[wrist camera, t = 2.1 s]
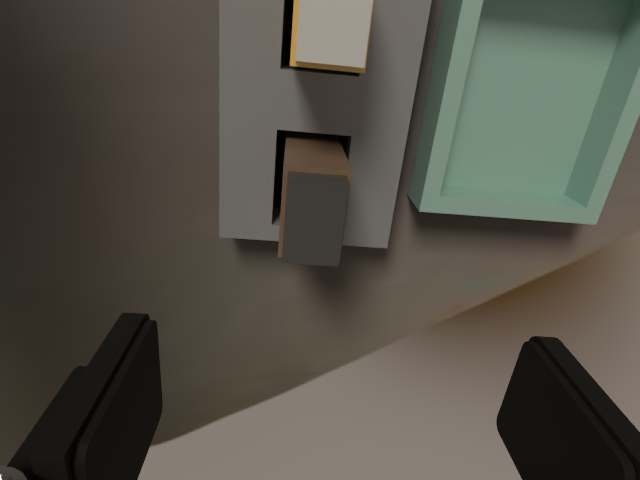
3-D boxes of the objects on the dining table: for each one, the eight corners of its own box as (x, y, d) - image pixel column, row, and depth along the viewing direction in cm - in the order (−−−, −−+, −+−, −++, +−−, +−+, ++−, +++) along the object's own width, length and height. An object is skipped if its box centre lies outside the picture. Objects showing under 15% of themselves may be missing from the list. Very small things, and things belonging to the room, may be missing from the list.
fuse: (297, -38, 22) (298, -79, 14) (354, -31, 23) (388, -67, 15) (291, 56, 24) (289, 67, 16) (344, 62, 25) (368, 75, 16)
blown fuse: (286, 128, 26) (282, 171, 18) (336, 133, 26) (355, 177, 18) (282, 199, 28) (276, 267, 20) (328, 203, 28) (342, 271, 20)
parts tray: (452, -42, 23) (473, -53, 20) (648, -17, 24) (694, -24, 21) (407, 194, 28) (419, 211, 25) (568, 207, 29) (596, 224, 26)
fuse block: (228, -83, 22) (219, -100, 19) (426, -57, 22) (444, -70, 20) (226, 217, 28) (219, 237, 26) (378, 228, 29) (387, 248, 26)
